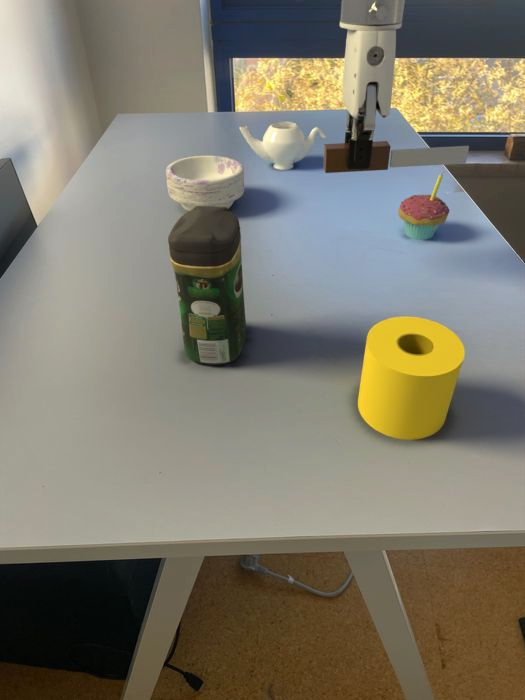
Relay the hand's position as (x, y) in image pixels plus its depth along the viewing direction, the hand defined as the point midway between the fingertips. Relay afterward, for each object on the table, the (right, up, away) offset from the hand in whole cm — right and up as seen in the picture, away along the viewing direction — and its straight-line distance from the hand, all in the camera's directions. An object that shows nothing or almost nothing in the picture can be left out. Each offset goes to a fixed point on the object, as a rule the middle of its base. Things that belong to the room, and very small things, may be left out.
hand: (356, 163), depth 74 cm
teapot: (-9, +17, +48) cm, 51 cm away
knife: (+5, 0, 0) cm, 5 cm away
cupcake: (+15, -6, +20) cm, 26 cm away
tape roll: (+3, -34, -14) cm, 37 cm away
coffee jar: (-20, -26, -4) cm, 33 cm away
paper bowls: (-25, +3, +31) cm, 40 cm away
